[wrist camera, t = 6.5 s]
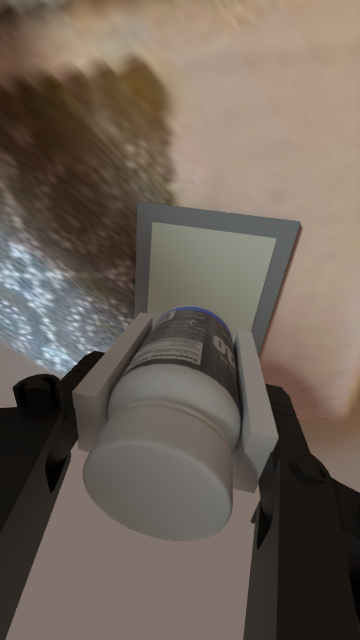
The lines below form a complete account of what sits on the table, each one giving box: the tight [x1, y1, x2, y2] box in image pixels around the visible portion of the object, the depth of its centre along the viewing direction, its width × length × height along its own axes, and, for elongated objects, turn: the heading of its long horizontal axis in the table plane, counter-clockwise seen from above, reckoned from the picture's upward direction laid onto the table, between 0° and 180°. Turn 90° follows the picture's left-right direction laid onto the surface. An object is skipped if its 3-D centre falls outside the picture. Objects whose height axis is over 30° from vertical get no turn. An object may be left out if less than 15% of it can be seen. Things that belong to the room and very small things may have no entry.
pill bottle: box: [83, 305, 241, 541], centre depth 10 cm, size 5×5×8 cm
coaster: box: [134, 201, 300, 356], centre depth 23 cm, size 14×14×1 cm
